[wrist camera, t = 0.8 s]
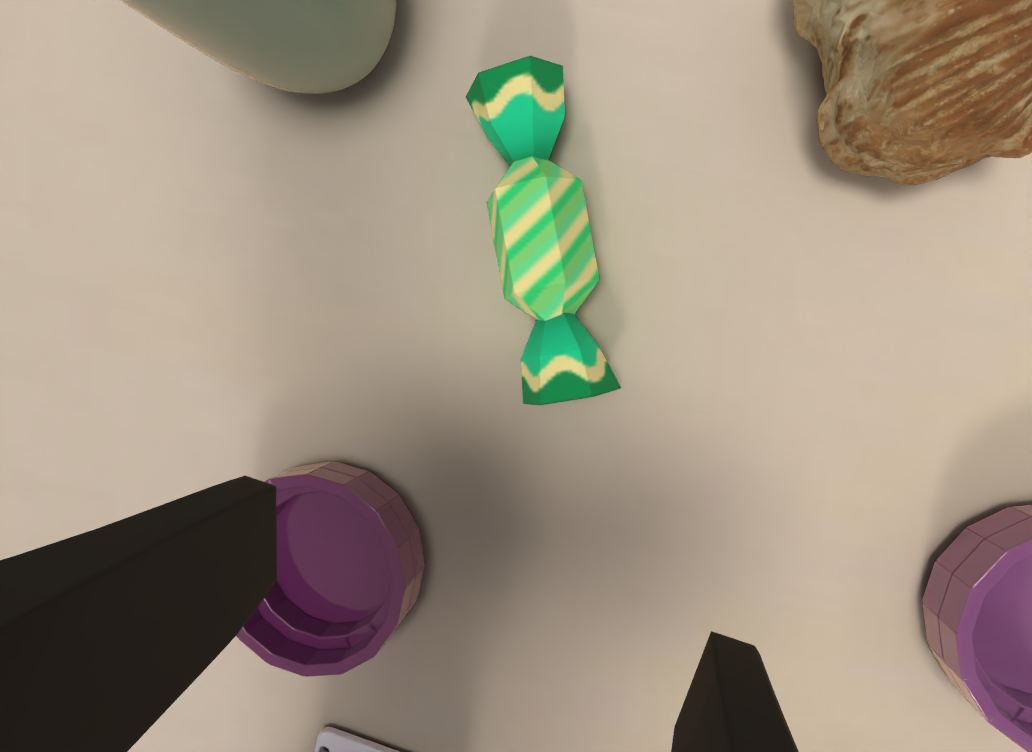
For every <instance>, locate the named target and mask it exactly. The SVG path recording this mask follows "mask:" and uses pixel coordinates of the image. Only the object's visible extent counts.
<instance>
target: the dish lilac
mask: <svg viewBox="0 0 1032 752" xmlns="http://www.w3.org/2000/svg"><path fill="white" fill-rule="evenodd" d="M966 528H967V529H964V530H963V531H962V532H961V534H960V535H959V536H958V537H957V538H956V539H955V540H954V541H953V542H952V543H951V544H950V546H949V547H948V548H947V549H946V550H945V551H944V552H943V553H942V554H941V555H940V556H939V558H938V559H937V560H936V561H935V563H934V566H933V569H932V572H931V575H930V578H929V581H928V584H927V587H926V590H925V593H924V596H923V600H922V602H923V611H924V619H925V627H926V634H927V642H928V644H929V647H930V649H931V651H932V652H933V654H934V656H935V657H936V659H937V660H938V662H939V664H940V665H941V667H942V669H943V670H944V672H945V673H946V675H947V677H948V678H949V680H950V681H951V682H952V683H953V684H954V686H955V687H956V688H957V689H958V690H959V691H960V692H961V693H962V694H963V695H964V696H965V698H966V699H967V700H968V701H969V702H970V703H971V704H972V705H973V706H974V708H975V709H976V710H977V711H978V712H979V713H980V714H981V715H982V716H983V717H984V718H985V719H986V721H987V722H988V723H990V724H991V725H992V726H994V727H995V728H996V729H998V730H999V731H1000V732H1002V733H1003V734H1004V735H1006V736H1007V737H1008V738H1010V739H1011V740H1012V741H1014V742H1015V743H1016V744H1018V745H1019V746H1020V747H1022V748H1023V749H1024V750H1026V751H1027V752H1032V505H1024V506H1014V507H1008V508H1005V509H1003V510H1001V511H999V512H997V513H995V514H993V515H991V516H989V517H987V518H985V519H982V520H980V521H978V522H976V523H974V524H972V525H970V526H968V527H966Z"/></svg>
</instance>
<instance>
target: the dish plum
mask: <svg viewBox="0 0 1032 752" xmlns="http://www.w3.org/2000/svg"><path fill="white" fill-rule="evenodd" d="M265 483H268V484H271V485H274V486H276V521H277V581H276V582H275V584H274V585H273V586H272V588H271V589H270V591H269V592H268V594H267V595H266V596H265V598H264V599H263V601H262V602H261V603H260V605H259V606H258V608H257V609H256V610H255V612H254V613H253V614H252V616H251V617H250V618H249V620H248V621H247V622H246V624H245V625H244V626H243V627H242V629H241V630H240V631H239V633H238V634H237V635H236V636H237V637H238V638H239V640H240V641H242V642H243V643H244V644H245V645H246V646H248V647H249V648H250V649H251V650H252V651H253V652H255V653H256V654H257V655H258V656H259V657H261V658H262V659H263V660H264V661H265V662H267V663H269V664H270V665H273V666H275V667H278V668H281V669H284V670H287V671H290V672H293V673H296V674H298V675H301V676H322V675H338V674H343V673H345V672H347V671H349V670H351V669H352V668H354V667H356V666H358V665H360V664H362V663H364V662H366V661H367V660H369V659H371V658H373V657H374V656H375V655H376V654H377V653H378V651H379V650H380V649H381V648H382V646H383V645H384V644H385V642H386V641H387V640H388V638H389V637H390V636H391V635H392V633H393V632H394V631H395V629H396V628H397V627H398V625H399V624H400V623H401V621H402V620H403V619H404V617H405V616H406V615H407V613H408V612H409V611H410V609H411V608H412V607H413V605H414V604H415V603H416V601H417V598H418V594H419V589H420V585H421V580H422V576H423V572H424V567H425V566H424V565H425V561H424V555H423V549H422V543H421V537H420V531H419V528H418V525H417V524H416V522H415V520H414V519H413V517H412V515H411V513H410V512H409V510H408V508H407V507H406V505H405V503H404V502H403V500H402V498H401V497H400V495H398V493H396V492H395V491H394V490H393V489H391V488H390V487H389V486H388V485H386V484H385V483H384V482H382V481H381V480H380V479H379V478H377V477H376V476H375V475H374V474H372V473H371V472H369V471H367V470H364V469H360V468H357V467H354V466H350V465H347V464H343V463H340V462H336V461H335V462H333V461H332V462H325V463H317V464H309V465H302V466H299V467H296V468H294V469H291V470H289V471H287V472H285V473H282V474H280V475H277V476H275V477H273V478H270V479H268V480H266V481H265Z"/></svg>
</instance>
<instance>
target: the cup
mask: <svg viewBox="0 0 1032 752" xmlns="http://www.w3.org/2000/svg"><path fill="white" fill-rule="evenodd" d="M120 1H122V2H123V3H125V4H126V5H128V6H129V7H131V8H133V9H134V10H136V11H137V12H139V13H140V14H142V15H143V16H145V17H146V18H148V19H149V20H151V21H153V22H154V23H156V24H157V25H159V26H160V27H162V28H163V29H165V30H167V31H168V32H170V33H171V34H173V35H174V36H176V37H178V38H179V39H181V40H182V41H184V42H186V43H187V44H189V45H191V46H192V47H194V48H196V49H197V50H199V51H201V52H202V53H204V54H205V55H207V56H209V57H210V58H212V59H214V60H215V61H217V62H219V63H221V64H222V65H224V66H226V67H228V68H230V69H231V70H233V71H235V72H237V73H239V74H241V75H243V76H245V77H247V78H250V79H252V80H255V81H257V82H260V83H262V84H265V85H268V86H271V87H274V88H277V89H281V90H284V91H288V92H296V93H303V94H322V93H330V92H334V91H338V90H342V89H345V88H347V87H349V86H351V85H353V84H355V83H357V82H359V81H360V80H362V79H363V78H364V77H366V76H367V75H368V74H369V73H371V71H372V70H373V69H374V68H375V67H376V65H377V64H378V63H379V62H380V60H381V58H382V56H383V54H384V52H385V50H386V49H387V46H388V43H389V40H390V37H391V34H392V31H393V28H394V21H395V15H396V0H120Z"/></svg>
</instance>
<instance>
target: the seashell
mask: <svg viewBox="0 0 1032 752" xmlns="http://www.w3.org/2000/svg"><path fill="white" fill-rule="evenodd" d="M792 4H793V6H794V9H795V12H794V18H793V19H794V22H795V29H796V33H797V35H798V36H800V37H802V38H804V39H806V40H807V41H809V42H810V43H811V44H812V45H813V46H815V47H816V48H817V51H818V54H819V57H820V60H821V62H822V76H823V78H824V89H825V91H826V93H827V96H826V97H825V99H824V100H823V102H822V103H821V105H820V107H819V110H818V115H817V120H816V121H817V126H818V132H819V141H820V144H821V146H822V148H823V149H824V150H825V151H826V152H827V154H828V156H829V157H830V159H831V161H832V162H833V163H834V164H836V165H837V166H838V167H840V168H841V169H842V170H844V171H848V172H852V173H856V174H860V175H865V176H881V177H885V178H887V179H889V180H891V181H893V182H896V183H899V184H906V185H917V184H921V183H925V182H929V181H933V180H937V179H939V178H941V177H944V176H946V175H948V174H950V173H952V172H954V171H957V170H959V169H962V168H965V167H967V166H970V165H972V164H974V163H976V162H978V161H980V160H981V159H983V158H987V157H991V156H993V157H1003V158H1021V157H1023V156H1025V155H1028V154H1030V153H1031V152H1032V0H792Z"/></svg>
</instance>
